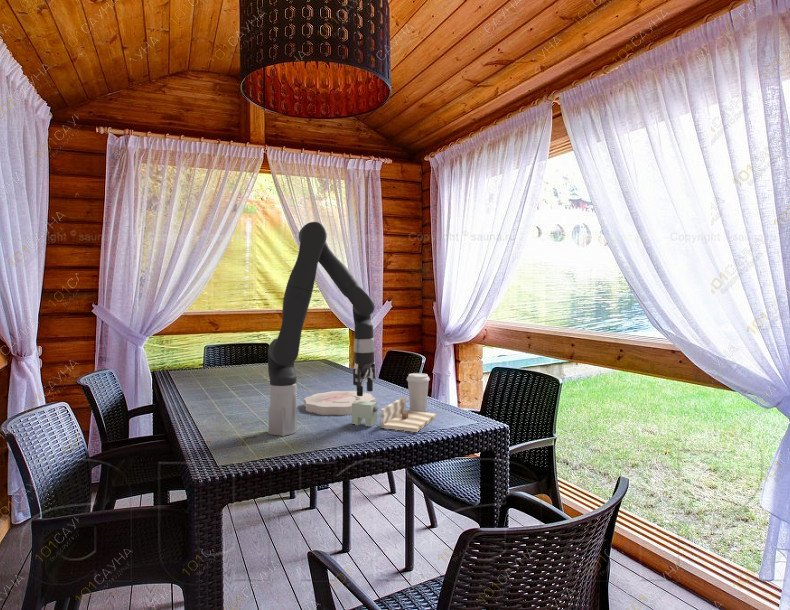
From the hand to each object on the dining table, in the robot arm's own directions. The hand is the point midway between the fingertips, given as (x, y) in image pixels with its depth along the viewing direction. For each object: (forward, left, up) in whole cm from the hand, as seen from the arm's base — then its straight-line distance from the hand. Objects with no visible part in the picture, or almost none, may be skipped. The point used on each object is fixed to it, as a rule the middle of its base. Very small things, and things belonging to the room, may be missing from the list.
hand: (364, 393), depth 183 cm
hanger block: (0, 0, -12) cm, 11 cm away
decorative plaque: (+21, +22, -12) cm, 33 cm away
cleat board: (+8, -15, -11) cm, 20 cm away
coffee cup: (+26, -12, -12) cm, 31 cm away
